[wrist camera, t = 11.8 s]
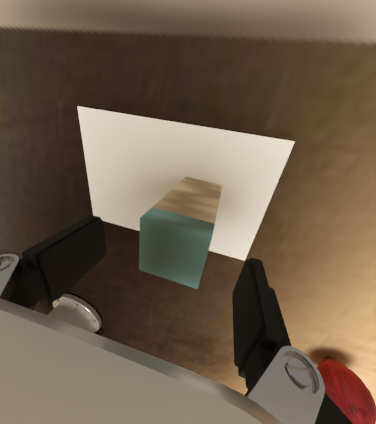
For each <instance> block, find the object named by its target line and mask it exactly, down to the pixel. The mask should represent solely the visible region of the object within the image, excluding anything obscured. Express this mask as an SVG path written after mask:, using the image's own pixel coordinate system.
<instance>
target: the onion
mask: <svg viewBox="0 0 376 424" xmlns="http://www.w3.org/2000/svg"><path fill="white" fill-rule="evenodd" d="M317 369H318V370H319V372H320V374H321V376H322V378H323V381H324V386H325V393H326V394H327V395H328V396H329V397H330V399H331V400H332V401H333V402H334V403H335V404H336V405H337V406H338V407H339V409H340V410H341V411H342V412H343V413H344V414H345V415H346V416H347V417H348V419H349V420H350V421H351V422H352V423H353V424H375V422H376V406H375V403H374V400H373V398H372V395H371V393H370V391H369V390H368V389H367V387H366V386H365V385H364V383H363V382H362V381H361V379H360V378H359V377H358V376H357V375H356V374H355V373H354V372H353V371H351V370H350V369H348V368H347V367H346V366H344V365H343V364H341V363H339V362H337V361H335V360H333V359H331V358H326V359H325V360H324V361H322V362H321V363H320V364H319V365H318V367H317Z"/></svg>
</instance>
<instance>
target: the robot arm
mask: <svg viewBox="0 0 376 424" xmlns="http://www.w3.org/2000/svg"><path fill="white" fill-rule="evenodd" d="M105 254H106V247H105V236H104V226H103V221H102V219H101V218H100V217H97V216H93V215H90V216H88V217H86V218H84V219H82V220H81V221H79V222H77V223H75V224H73V225H71V226H70V227H68V228H66V229H64V230H62V231H60V232H59V233H57V234H55V235H53V236H51V237H49V238H48V239H46V240H44V241H42V242H40V243H38V244H37V245H35V246H33V247H31V248H29V249H27V250H26V251H24V252H22V255H23V258H21V259H19V257H18V256H17V255H15V254H3V255H0V424H353V423H352V422H351V421H350V420H349V419H348V417H347V416H346V415H345V414H344V413H343V412H342V411H341V410H340V409H339V407H338V406H337V405H336V404H335V403H334V402H333V401H332V400H331V399H330V397H329V396H328V395H327V394H326V393H325V386H324V381H323V378H322V376H321V374H320V372H319V370H318V369H317V367H316V366H315V364H314V363H313V362H312V361H311V359H310V358H309V357H308V356H307V355H306V354H304V353H303V352H302V351H300V350H299V349H297V348H295V347H292V346H291V343H290V340H289V337H288V333H287V330H286V327H285V324H284V320H283V317H282V314H281V311H280V307H279V304H278V301H277V298H276V294H275V292H274V290H273V288H270V287H269V285H268V282H267V278H266V274H265V271H264V267H263V264H262V261H261V260H258V259H254V258H250V259H249V260H248V259H246V261H245V263H244V266H243V268H242V271H241V273H240V276H239V278H238V280H237V283H236V285H235V288H234V290H233V330H234V362H235V366H237V367H238V372H239V376H241V377H243V378H245V379H246V387H247V388H248V391H247V392H246V394H245V395H243V394H241V393H239V392H237V391H235V390H233V389H231V388H229V387H227V386H225V385H223V384H221V383H218V382H216V381H214V380H211V379H209V378H206V377H204V376H202V375H199V374H197V373H194V372H192V371H189V370H187V369H185V368H182V367H180V366H177V365H175V364H172V363H169V362H167V361H164V360H162V359H159V358H157V357H154V356H151V355H149V354H146V353H144V352H141V351H139V350H136V349H133V348H131V347H128V346H126V345H123V344H121V343H118V342H115V341H113V340H110V339H108V338H105V337H102V336H100V335H97V334H94V333H93V332H96V331H98V330H99V328H100V326H101V324H102V322H101V318H100V316H99V314H98V313H97V312H96V310H95V309H94V308H93V307H92V306H91V305H89V304H88V303H87V302H85V301H84V300H82V299H80V298H78V297H76V296H74V295H70V294H65V293H66V292H67V291H68V290H69V289H70V288H71V287H72V286H73V285H74V284H75V283H77V282H78V281H79V280H80V279H81V278H82V277H83V276H84V275H85V274H86V273H87V272H88V271H89V270H90V269H91V268H93V267H94V266H95V265H96V264H97V263H98V262H99V261H100V260H101V259H102V258H103V257H104V256H105ZM39 300H40V301H41V302H42V303H44V304H47V305H51V304H52V303H53V307H54V309H53V310H52V311H51V312H50V313H49V314H48V315H44V314H42V313H39V312H36V311H34V309H35V306H36V303H37V302H38V301H39Z"/></svg>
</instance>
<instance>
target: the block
mask: <svg viewBox="0 0 376 424" xmlns="http://www.w3.org/2000/svg"><path fill="white" fill-rule="evenodd" d="M221 190H222V185H221V184H217V183H212V182H208V181H203V180H199V179H194V178H190V177H185V178H184V179H183V180H182V181H181V182H180V183H179V184H177V185H176V186H175V187H174V188H173V189H172V190H171V191H170V192H168V193H167V194H166V195H165V196H164V197H163V198H162V199H161V200H159V201H158V202H157V203H156V204H155V205H154V206H153V207H152V208H150V209H149V210H148V211H147V212H146V213H145V214H144V215H143V216H142V217H140V240H139V270H141V271H144V272H147V273H150V274H153V275H156V276H159V277H162V278H165V279H168V280H171V281H174V282H177V283H180V284H183V285H186V286H189V287H192V288H195V289H198V286H199V282H200V279H201V275H202V272H203V268H204V265H205V261H206V257H207V254H208V250H209V247H210V243H211V240H212V235H213V230H214V225H215V220H216V215H217V210H218V205H219V200H220V195H221Z"/></svg>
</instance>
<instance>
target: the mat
mask: <svg viewBox="0 0 376 424" xmlns="http://www.w3.org/2000/svg"><path fill="white" fill-rule="evenodd" d="M77 108H78V115H79V122H80V128H81V135H82V142H83V149H84V156H85V162H86V169H87V176H88V183H89V190H90V197H91V203H92V210H93V216H97V217H100V218H101V219H102V221H105V222H109V223H113V224H116V225H120V226H123V227H127V228H130V229H134V230H137V231H140V217H142V216H143V215H144V214H145V213H146V212H147V211H148V210H149V209H150V208H152V207H153V206H154V205H155V204H156V203H157V202H158V201H159V200H161V199H162V198H163V197H164V196H165V195H166V194H167V193H168V192H170V191H171V190H172V189H173V188H174V187H175V186H176V185H177V184H179V183H180V182H181V181H182V180H183V179H184V178H185V177H190V178H194V179H199V180H203V181H208V182H212V183H217V184H221V185H222V190H221V195H220V200H219V205H218V210H217V215H216V220H215V225H214V230H213V235H212V240H211V243H210V247H209V250H208V251H212V252H215V253H219V254H222V255H226V256H230V257H233V258H237V259H240V260H244V261H245V259H246V257H247V254H248V252H249V250H250V247H251V245H252V242H253V240H254V238H255V235H256V233H257V231H258V228H259V226H260V223H261V221H262V219H263V216H264V214H265V212H266V209H267V207H268V204H269V202H270V200H271V197H272V195H273V193H274V190H275V188H276V185H277V183H278V181H279V178H280V176H281V174H282V171H283V169H284V167H285V164H286V162H287V159H288V157H289V155H290V152H291V150H292V148H293V145H294V143H295V141H289V140H283V139H277V138H271V137H265V136H259V135H253V134H246V133H240V132H234V131H228V130H222V129H216V128H209V127H203V126H197V125H191V124H185V123H179V122H173V121H166V120H160V119H154V118H148V117H142V116H136V115H129V114H123V113H117V112H111V111H105V110H99V109H93V108H86V107H80V106H77Z"/></svg>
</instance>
